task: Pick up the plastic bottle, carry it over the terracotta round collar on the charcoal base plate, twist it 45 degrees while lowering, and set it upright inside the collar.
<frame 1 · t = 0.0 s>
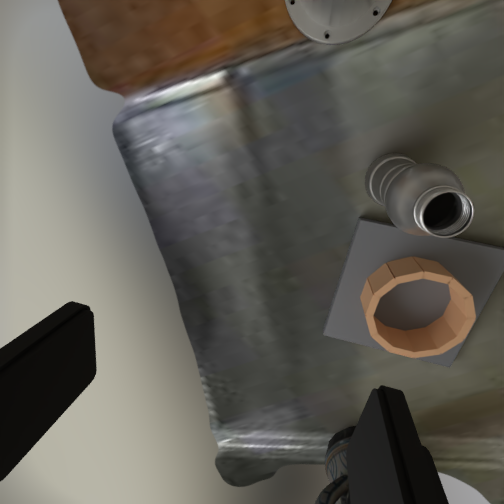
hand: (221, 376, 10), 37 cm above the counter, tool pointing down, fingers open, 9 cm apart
plastic bottle: (387, 177, 41), on the counter
beer stein: (359, 451, 60), on the counter
duct base: (405, 293, 46), on the counter
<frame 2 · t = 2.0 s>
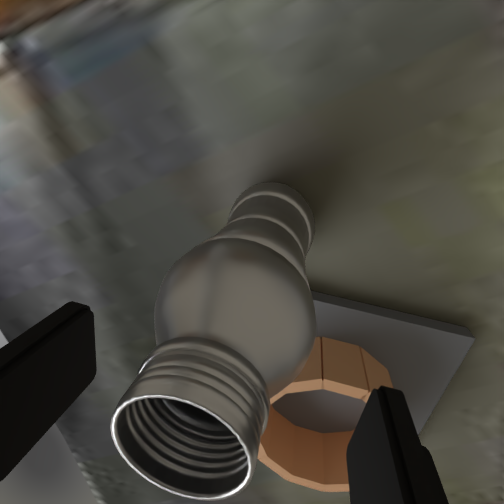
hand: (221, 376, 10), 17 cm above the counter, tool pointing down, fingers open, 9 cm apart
plastic bottle: (275, 216, 25), on the counter
duct base: (321, 380, 31), on the counter
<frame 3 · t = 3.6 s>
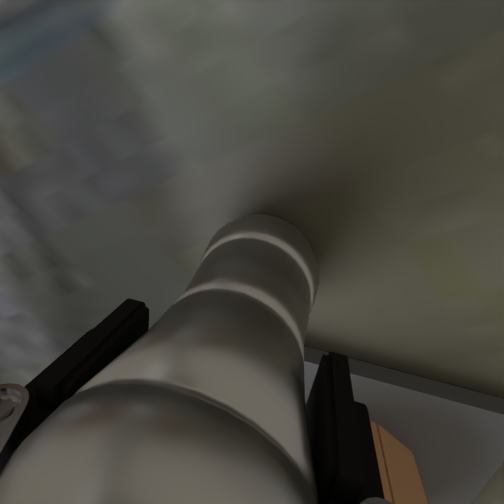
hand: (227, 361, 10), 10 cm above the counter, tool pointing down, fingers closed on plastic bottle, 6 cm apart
plastic bottle: (267, 256, 19), on the counter, touching gripper
duct base: (325, 454, 25), on the counter
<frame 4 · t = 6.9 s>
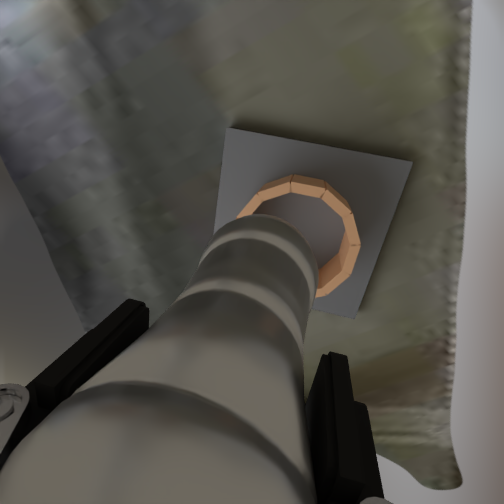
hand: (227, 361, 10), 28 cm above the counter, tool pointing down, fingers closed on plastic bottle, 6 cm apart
plastic bottle: (266, 255, 19), point 18 cm above the counter, touching gripper
duct base: (296, 227, 37), on the counter
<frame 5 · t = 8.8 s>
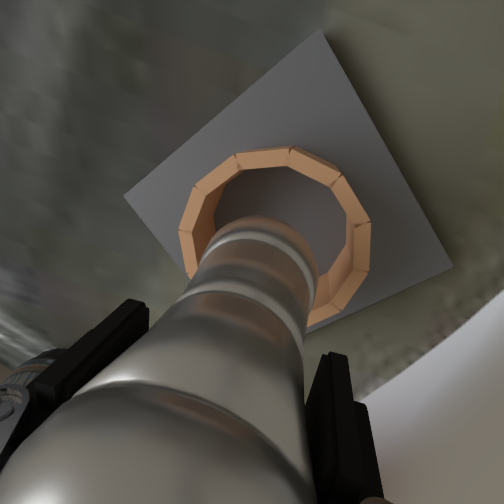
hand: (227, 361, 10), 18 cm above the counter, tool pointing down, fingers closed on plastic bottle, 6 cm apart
plastic bottle: (266, 256, 19), point 8 cm above the counter, touching gripper
beer stein: (74, 386, 40), on the counter
duct base: (279, 224, 27), on the counter
when the fingers open (12 cm above the counter, at t = 10.5 s): plastic bottle drops 1 cm, resting on duct base.
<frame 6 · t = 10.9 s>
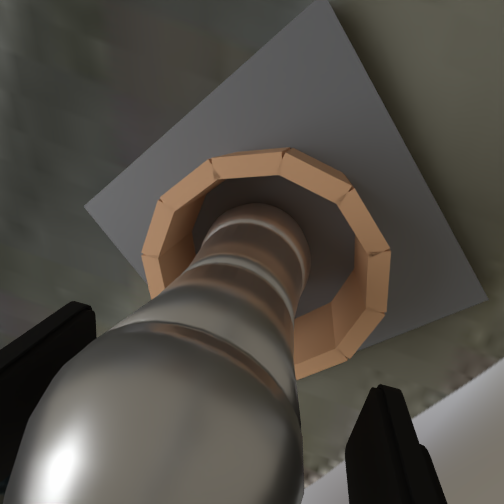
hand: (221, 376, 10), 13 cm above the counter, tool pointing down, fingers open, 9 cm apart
plastic bottle: (263, 243, 21), point 1 cm above the counter, touching duct base
duct base: (273, 242, 22), on the counter
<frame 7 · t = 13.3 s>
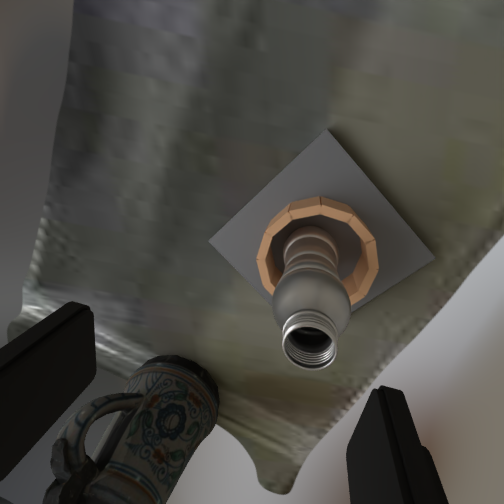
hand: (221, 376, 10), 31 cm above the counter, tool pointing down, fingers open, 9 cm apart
plastic bottle: (310, 246, 38), point 1 cm above the counter, touching duct base
beer stein: (171, 384, 54), on the counter
duct base: (314, 245, 39), on the counter
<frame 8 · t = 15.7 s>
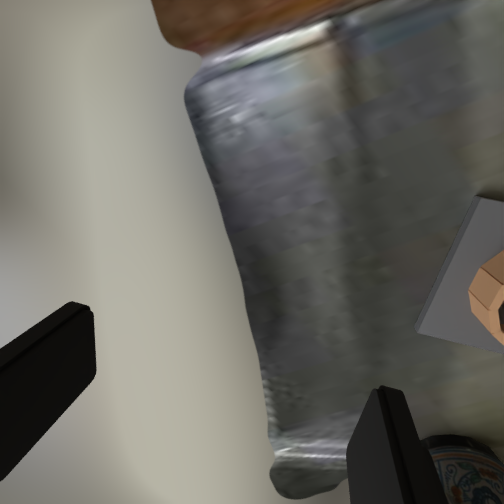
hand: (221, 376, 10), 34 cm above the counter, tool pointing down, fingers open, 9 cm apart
beer stein: (439, 463, 54), on the counter
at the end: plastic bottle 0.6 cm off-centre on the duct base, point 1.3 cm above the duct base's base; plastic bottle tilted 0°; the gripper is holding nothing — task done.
